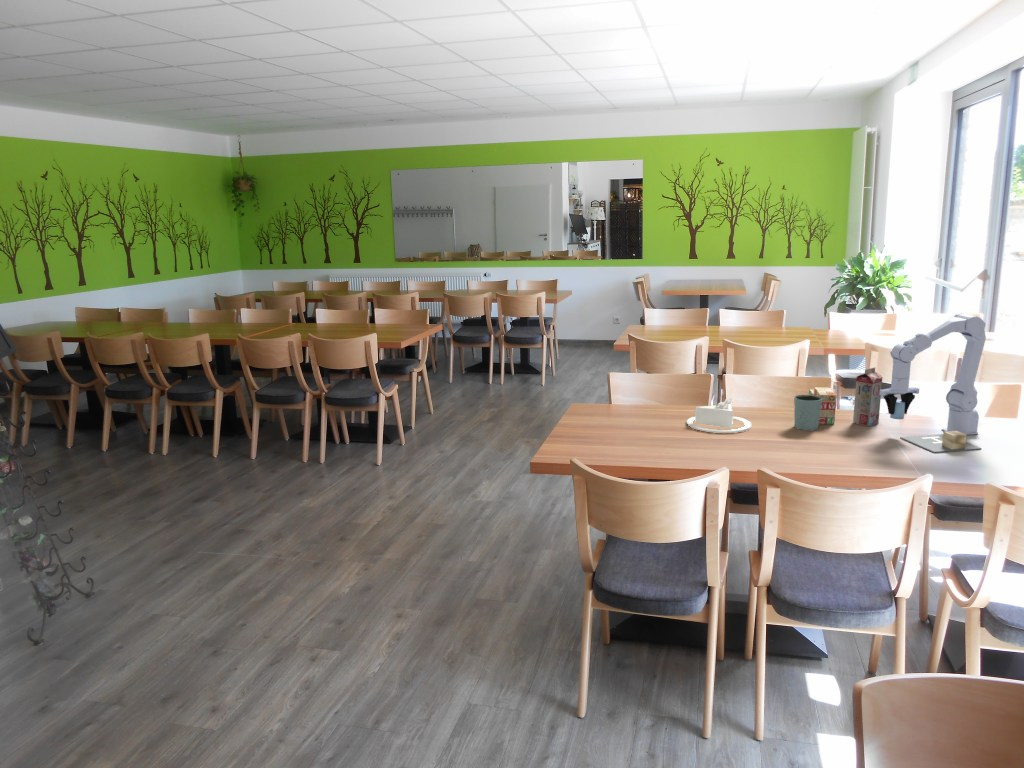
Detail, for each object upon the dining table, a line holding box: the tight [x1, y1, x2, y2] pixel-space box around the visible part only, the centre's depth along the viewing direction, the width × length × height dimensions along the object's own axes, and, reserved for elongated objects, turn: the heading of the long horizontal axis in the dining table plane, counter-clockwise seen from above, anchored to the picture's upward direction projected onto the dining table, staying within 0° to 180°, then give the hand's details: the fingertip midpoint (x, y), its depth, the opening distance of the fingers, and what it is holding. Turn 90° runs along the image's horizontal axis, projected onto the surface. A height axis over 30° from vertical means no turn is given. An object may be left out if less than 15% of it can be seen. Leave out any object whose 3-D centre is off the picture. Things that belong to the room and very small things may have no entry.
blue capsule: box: [889, 400, 905, 420], centre depth 280 cm, size 4×4×6 cm
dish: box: [686, 397, 753, 434], centre depth 299 cm, size 25×25×11 cm
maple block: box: [942, 431, 967, 449], centre depth 264 cm, size 5×5×5 cm
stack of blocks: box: [808, 386, 838, 425], centre depth 307 cm, size 21×6×12 cm, turn 169°
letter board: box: [900, 433, 982, 454], centre depth 270 cm, size 18×18×1 cm
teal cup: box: [793, 394, 822, 431], centre depth 293 cm, size 10×10×12 cm
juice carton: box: [852, 367, 883, 427], centre depth 295 cm, size 7×7×22 cm
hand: (897, 413), depth 280 cm, fingers closed on blue capsule, 4 cm apart
